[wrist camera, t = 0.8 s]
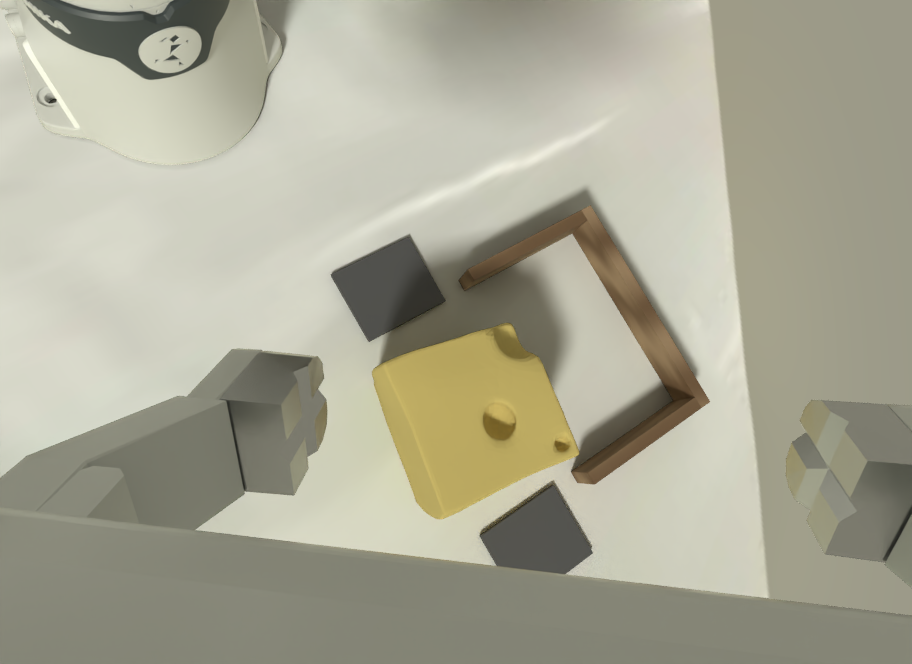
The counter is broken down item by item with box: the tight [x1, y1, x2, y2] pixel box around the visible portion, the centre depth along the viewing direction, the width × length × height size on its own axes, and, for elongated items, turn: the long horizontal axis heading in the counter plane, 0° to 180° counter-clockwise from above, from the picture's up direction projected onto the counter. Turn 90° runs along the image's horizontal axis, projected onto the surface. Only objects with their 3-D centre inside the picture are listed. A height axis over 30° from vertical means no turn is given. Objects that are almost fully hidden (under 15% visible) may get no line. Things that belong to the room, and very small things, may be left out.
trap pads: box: [331, 237, 593, 574], centre depth 45 cm, size 29×7×1 cm, turn 31°
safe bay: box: [459, 205, 710, 484], centre depth 48 cm, size 19×12×3 cm, turn 31°
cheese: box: [372, 323, 579, 519], centre depth 41 cm, size 10×11×10 cm
